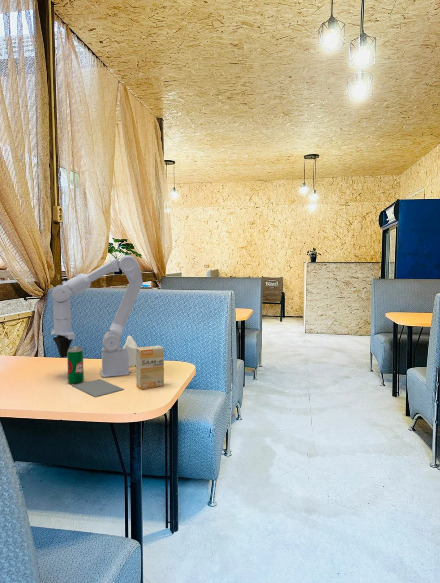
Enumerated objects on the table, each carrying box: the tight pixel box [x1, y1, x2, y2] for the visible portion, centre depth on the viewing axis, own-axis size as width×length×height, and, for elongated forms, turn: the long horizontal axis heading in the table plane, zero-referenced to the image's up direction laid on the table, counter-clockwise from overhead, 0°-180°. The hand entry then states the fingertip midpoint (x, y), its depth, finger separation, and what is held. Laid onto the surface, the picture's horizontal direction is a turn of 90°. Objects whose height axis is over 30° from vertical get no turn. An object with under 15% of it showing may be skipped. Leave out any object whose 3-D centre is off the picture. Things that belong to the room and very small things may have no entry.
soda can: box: [66, 346, 85, 385], centre depth 136 cm, size 5×5×12 cm
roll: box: [122, 334, 138, 368], centre depth 158 cm, size 6×12×6 cm
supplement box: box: [135, 345, 165, 390], centre depth 131 cm, size 8×5×13 cm, turn 118°
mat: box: [71, 378, 125, 398], centre depth 130 cm, size 16×10×1 cm, turn 45°
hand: (63, 356), depth 142 cm, fingers closed
